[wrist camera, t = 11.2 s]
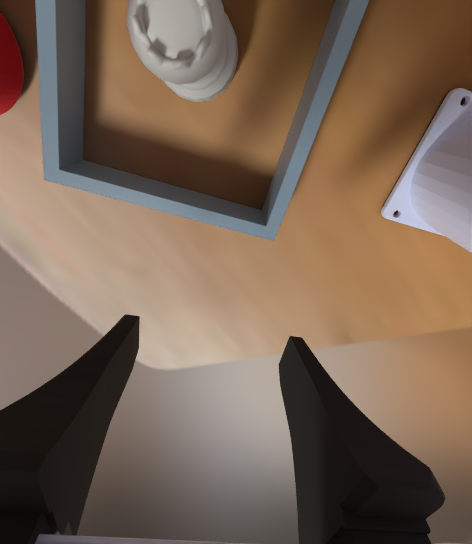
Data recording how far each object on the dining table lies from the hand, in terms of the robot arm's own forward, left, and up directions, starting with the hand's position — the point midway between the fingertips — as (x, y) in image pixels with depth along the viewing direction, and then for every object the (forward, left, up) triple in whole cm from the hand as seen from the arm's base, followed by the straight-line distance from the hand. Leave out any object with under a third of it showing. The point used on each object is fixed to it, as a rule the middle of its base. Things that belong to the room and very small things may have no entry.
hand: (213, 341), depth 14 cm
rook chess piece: (+4, -11, -10) cm, 15 cm away
